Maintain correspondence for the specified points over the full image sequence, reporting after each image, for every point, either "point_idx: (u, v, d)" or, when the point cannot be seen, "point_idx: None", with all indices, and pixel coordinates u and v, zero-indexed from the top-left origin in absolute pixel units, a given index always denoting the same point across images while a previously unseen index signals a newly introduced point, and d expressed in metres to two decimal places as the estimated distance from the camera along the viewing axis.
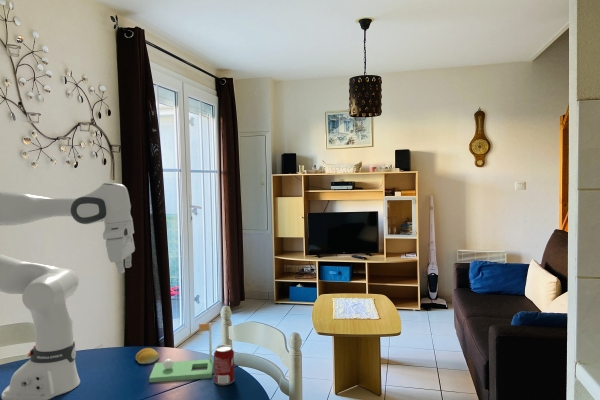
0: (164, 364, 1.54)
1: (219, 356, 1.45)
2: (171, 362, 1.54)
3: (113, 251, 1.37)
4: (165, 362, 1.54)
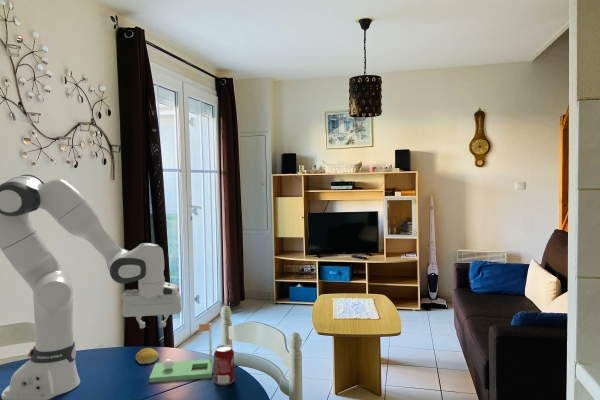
0: (164, 364, 1.54)
1: (219, 356, 1.45)
2: (171, 362, 1.54)
3: (180, 303, 1.54)
4: (165, 362, 1.54)
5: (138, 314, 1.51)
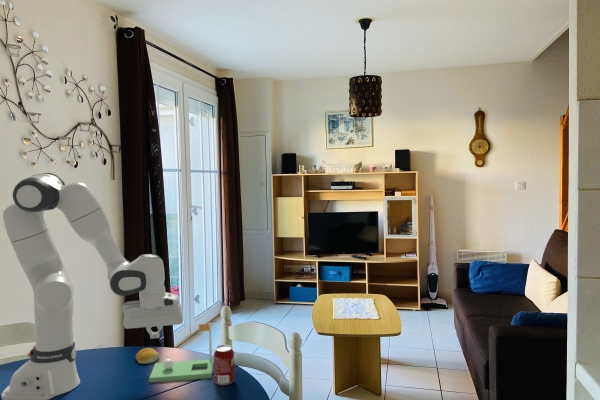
0: (164, 364, 1.54)
1: (219, 356, 1.45)
2: (171, 362, 1.54)
3: (182, 313, 1.55)
4: (165, 362, 1.54)
5: (140, 325, 1.51)
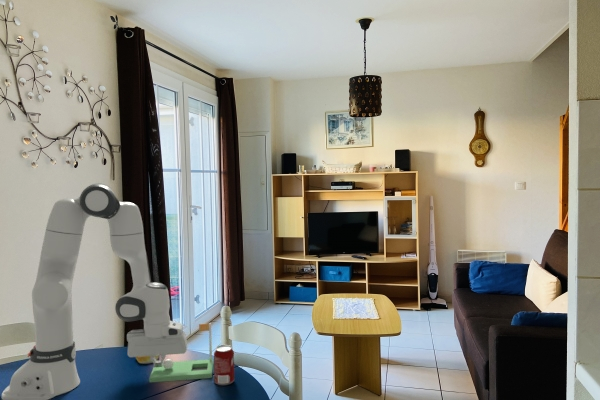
0: (164, 364, 1.54)
1: (219, 356, 1.45)
2: (171, 362, 1.54)
3: (186, 342, 1.55)
4: (165, 362, 1.54)
5: (144, 354, 1.52)
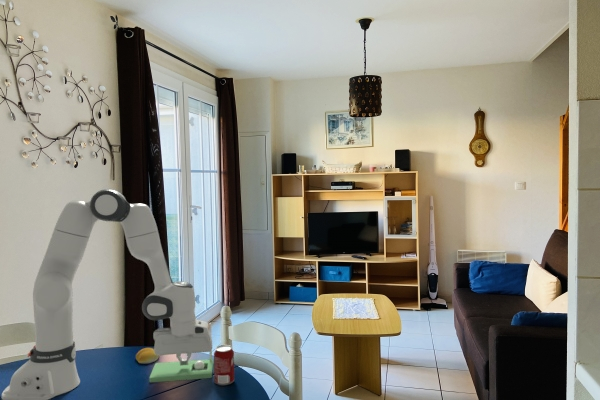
0: (195, 366, 1.55)
1: (219, 356, 1.45)
2: (202, 364, 1.56)
3: (211, 340, 1.57)
4: (196, 364, 1.55)
5: (170, 352, 1.53)
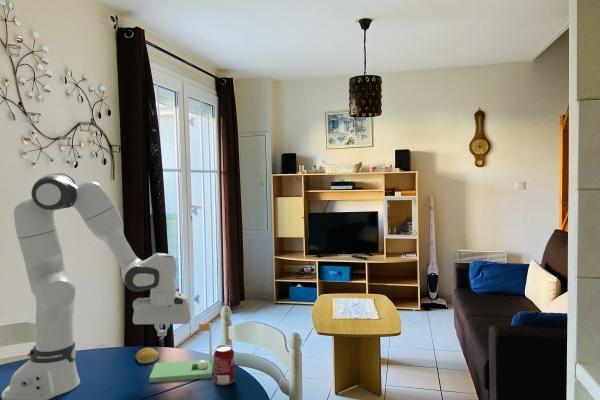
0: (200, 364, 1.56)
1: (219, 356, 1.45)
2: (206, 366, 1.56)
3: (190, 313, 1.58)
4: (202, 362, 1.56)
5: (148, 322, 1.54)
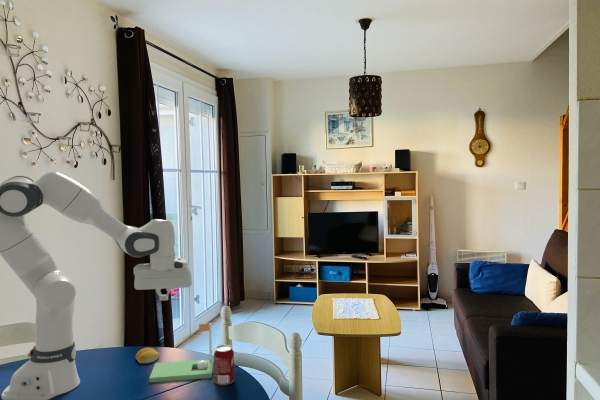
0: (200, 364, 1.56)
1: (219, 356, 1.45)
2: (206, 366, 1.56)
3: (190, 277, 1.60)
4: (202, 363, 1.56)
5: (150, 287, 1.57)
